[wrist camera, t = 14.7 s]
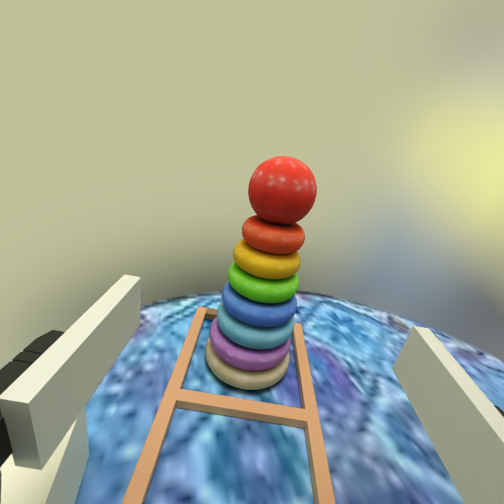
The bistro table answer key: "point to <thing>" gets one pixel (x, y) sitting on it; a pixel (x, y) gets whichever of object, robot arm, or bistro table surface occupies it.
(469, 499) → the robot arm
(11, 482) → the die
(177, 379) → the ladder
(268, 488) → the bistro table surface
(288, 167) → the stacking toy
